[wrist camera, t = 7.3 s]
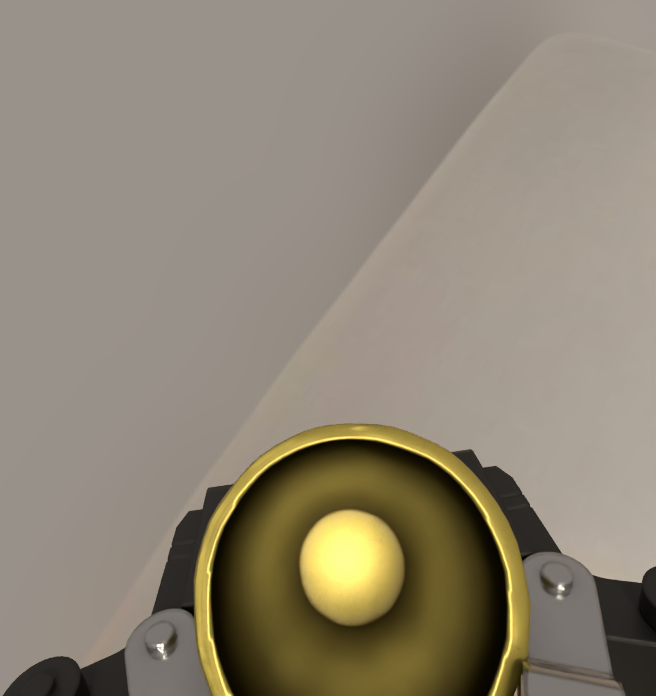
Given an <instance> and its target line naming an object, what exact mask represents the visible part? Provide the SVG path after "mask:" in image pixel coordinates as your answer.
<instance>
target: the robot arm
mask: <svg viewBox="0 0 656 696" xmlns="http://www.w3.org/2000/svg"><path fill="white" fill-rule="evenodd" d="M451 453H452V454H454V455H455V456H456V457H457V458H458V459H460V460H461V461H462V462H463V463H464V464H465V465H466V466H467V467H468V468H469V469H470V470H471V471H472V472H473V473H474V474H475V475H476V476H477V478H478V479H479V480H480V481H481V482H482V483H483V485H484V486H485V487H486V488H487V490H488V491H489V492H490V494H491V495H492V497H493V498H494V499H495V501H496V502H497V503H498V505H499V507H500V509H501V510H502V512H503V514H504V515H505V517H506V519H507V520H508V522H509V525H510V527H511V529H512V531H513V534H514V536H515V538H516V541H517V543H518V547H519V551H520V555H521V559H522V562H523V566H524V571H525V576H526V581H527V586H528V591H529V596H530V602H531V619H530V638H529V649H528V656H527V659H526V661H522V674H521V677H520V680H519V683H518V685H517V696H656V567H653V568H651V569H649V570H648V571H647V572H646V573H645V575H644V576H643V580H642V583H636V582H628V581H619V580H611V579H605V578H601V577H597V576H594V575H592V574H591V573H590V572H589V570H588V569H587V568H586V567H585V566H584V565H583V564H581V563H580V562H579V561H577V560H575V559H573V558H571V557H569V556H567V555H564V554H562V553H561V551H560V550H559V548H558V547H557V545H556V544H555V542H554V541H553V539H552V537H551V536H550V534H549V533H548V531H547V530H546V528H545V527H544V525H543V524H542V522H541V521H540V519H539V518H538V516H537V514H536V513H535V511H534V510H533V508H532V507H530V504H529V502H528V501H527V499H526V498H525V496H524V495H522V492H521V490H520V488H519V487H518V485H517V484H516V482H515V481H514V479H513V478H512V477H511V476H510V475H508V474H507V473H505V472H504V471H502V470H501V469H500V468H498V467H497V466H492V467H485V468H483V467H482V466H481V464H480V462H479V460H478V459H477V457H476V455H475V454H474V452H473V451H472V450H471V449H469V450H463V451H456V452H451ZM232 486H233V484H231V485H224V486H218V487H211V488H208V489H207V492H206V497H205V501H204V505H203V509H201V510H195V511H189V512H188V513H187V515H186V516H185V517H184V518H183V520H182V521H181V522H180V524H179V525H178V526H177V527H176V531H175V535H174V538H173V542H172V547H171V549H170V552H169V556H168V562H167V563H166V566H165V570H164V573H163V577H162V580H161V584H160V587H159V591H158V594H157V598H156V601H155V605H154V608H153V612H152V615H151V616H150V617H148V618H147V619H145V620H144V621H143V622H142V623H141V624H139V626H138V627H137V628H136V629H135V630H134V631H133V633H132V634H131V636H130V637H129V639H128V641H127V644H126V647H125V648H124V649H122V650H121V651H119V652H117V653H115V654H113V655H111V656H109V657H107V658H105V659H102V660H100V661H98V662H96V663H93V664H91V665H89V666H87V667H84V668H82V669H80V668H79V666H78V664H77V663H76V661H74V660H73V659H71V658H69V657H63V656H61V657H53V658H49V659H46V660H43V661H41V662H39V663H37V664H35V665H34V666H32V667H30V668H29V669H27V670H26V671H25V672H23V673H22V674H21V675H20V676H19V677H18V678H17V679H16V680H15V681H14V682H13V683H12V684H11V685H10V687H9V688H8V689H7V690H6V692H5V693H4V695H3V696H212V695H211V693H210V690H209V688H208V685H207V683H206V680H205V677H204V674H203V672H202V669H201V667H200V664H199V659H198V653H197V648H196V639H195V626H194V575H195V568H196V562H197V558H198V554H199V550H200V547H201V543H202V539H203V536H204V534H205V531H206V528H207V525H208V523H209V520H210V518H211V517H212V515H213V513H214V511H215V510H216V508H217V506H218V504H219V503H220V502H221V500H222V499H223V497H224V496H225V495H226V493H227V492H228V490H229V489H230V488H231V487H232Z"/></svg>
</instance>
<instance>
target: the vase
mask: <svg viewBox="0 0 656 696" xmlns="http://www.w3.org/2000/svg"><path fill="white" fill-rule="evenodd" d="M530 619H531V602H530V596H529V591H528V586H527V581H526V576H525V571H524V566H523V562H522V559H521V555H520V551H519V547H518V543H517V541H516V538H515V536H514V534H513V531H512V529H511V527H510V525H509V522H508V520H507V519H506V517H505V515H504V514H503V512H502V510H501V509H500V507H499V505H498V503H497V502H496V501H495V499H494V498H493V497H492V495H491V494H490V492H489V491H488V490H487V488H486V487H485V486H484V485H483V483H482V482H481V481H480V480H479V479H478V478H477V476H476V475H475V474H474V473H473V472H472V471H471V470H470V469H469V468H468V467H467V466H466V465H465V464H464V463H463V462H462V461H461V460H460V459H458V458H457V457H456V456H455V455H454V454H452V453H451V452H450V451H448V450H446V449H444V448H443V447H441V446H439V445H438V444H436V443H433V442H431V441H429V440H427V439H425V438H422V437H420V436H417V435H415V434H413V433H410V432H408V431H404V430H401V429H398V428H395V427H390V426H384V425H378V424H336V425H327V426H321V427H317V428H313V429H310V430H307V431H304V432H301V433H299V434H297V435H295V436H292V437H290V438H288V439H287V440H285V441H283V442H281V443H279V444H277V445H275V446H274V447H272V448H271V449H270V450H268V451H267V452H265V453H264V454H262V455H261V456H260V457H259V458H257V459H256V460H255V461H254V462H253V463H252V464H251V465H250V466H249V467H248V468H247V469H246V470H245V471H244V473H243V474H242V475H241V476H240V477H239V478H238V480H237V481H236V482H235V483H234V484H233V486H232V487H231V488H230V489H229V490H228V492H227V493H226V495H225V496H224V497H223V499H222V500H221V502H220V503H219V504H218V506H217V508H216V510H215V511H214V513H213V515H212V517H211V518H210V520H209V523H208V525H207V528H206V531H205V534H204V536H203V539H202V543H201V547H200V550H199V554H198V558H197V562H196V568H195V575H194V626H195V639H196V648H197V653H198V659H199V664H200V667H201V669H202V672H203V674H204V677H205V680H206V683H207V685H208V688H209V690H210V693H211V695H212V696H514V693H515V691H516V688H517V685H518V683H519V680H520V677H521V674H522V661H526V659H527V656H528V649H529V638H530Z"/></svg>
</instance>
